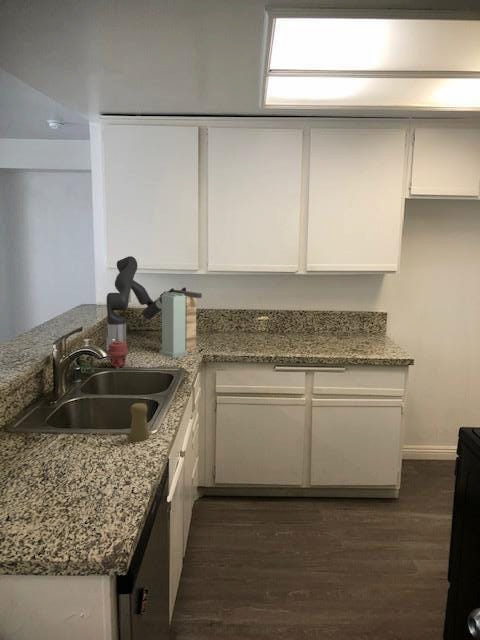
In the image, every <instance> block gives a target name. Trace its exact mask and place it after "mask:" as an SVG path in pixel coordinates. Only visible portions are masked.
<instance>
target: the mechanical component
mask: <svg viewBox="0 0 480 640" xmlns="http://www.w3.org/2000/svg"><path fill="white" fill-rule="evenodd" d="M127 346H128V345H127V342H126V343H123V342H121V341H115V342H113V343H110V344H109V350H108V351H107V350H106V355H107V354H108V355H110V356H109V357H110V358H109V359H110V365H111V366H112V367H113V366H114V368H115V369H116V368H119V369H120V367H121V368H124V367H123V366H125V367H126V361H127V360H126V356H127V355H129V349H128V347H127ZM125 355H126V356H125Z"/></svg>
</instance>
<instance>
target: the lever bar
mask: <svg viewBox="0 0 480 640" xmlns="http://www.w3.org/2000/svg"><path fill="white" fill-rule="evenodd" d="M174 293H181V294H184V296H187V297H194V298H196V299H202V296H203V294H202V293H201V292H196V291H188V290H186V291H182V290H181V289H174Z"/></svg>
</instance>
